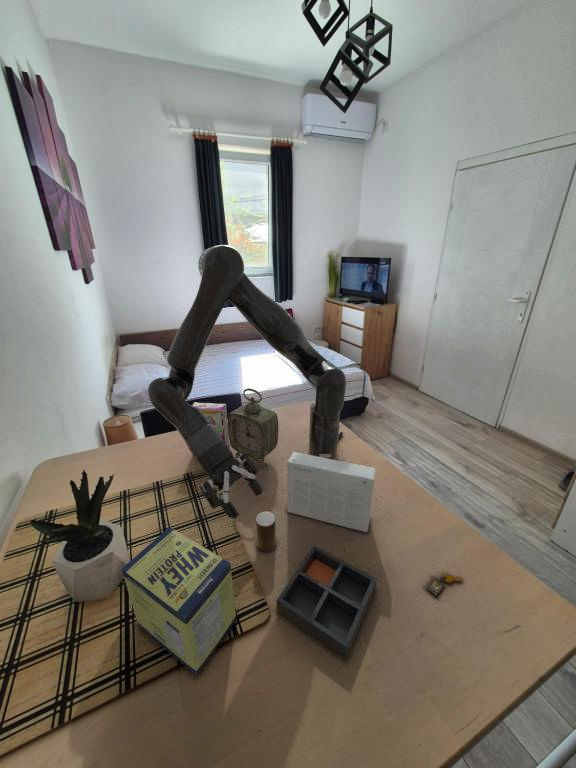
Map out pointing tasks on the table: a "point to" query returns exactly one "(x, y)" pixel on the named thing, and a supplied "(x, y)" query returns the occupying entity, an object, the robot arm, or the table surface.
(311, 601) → the grid
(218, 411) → the candy bar box
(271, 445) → the tabletop clock
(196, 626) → the protein box
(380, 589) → the table surface
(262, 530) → the brown cylinder
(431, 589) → the key tag
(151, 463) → the table surface
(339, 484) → the skincare box
